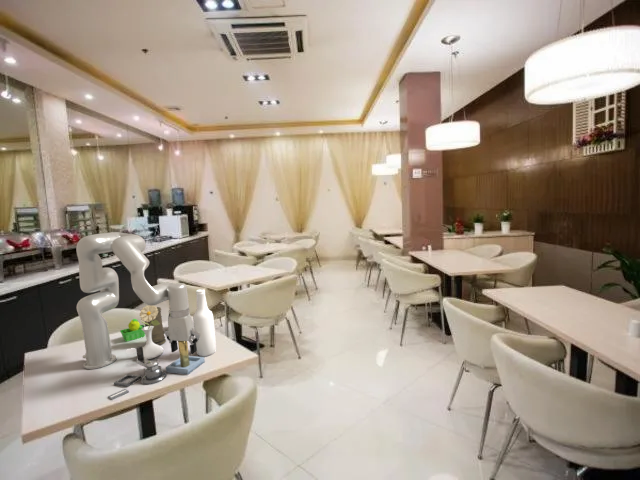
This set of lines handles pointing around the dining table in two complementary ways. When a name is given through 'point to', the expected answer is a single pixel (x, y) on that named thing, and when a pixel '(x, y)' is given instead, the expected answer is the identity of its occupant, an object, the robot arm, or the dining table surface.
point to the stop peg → (183, 353)
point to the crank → (145, 360)
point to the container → (157, 330)
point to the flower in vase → (150, 348)
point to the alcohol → (204, 326)
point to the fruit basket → (133, 331)
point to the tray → (177, 368)
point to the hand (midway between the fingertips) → (184, 351)
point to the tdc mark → (118, 394)
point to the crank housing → (149, 378)
